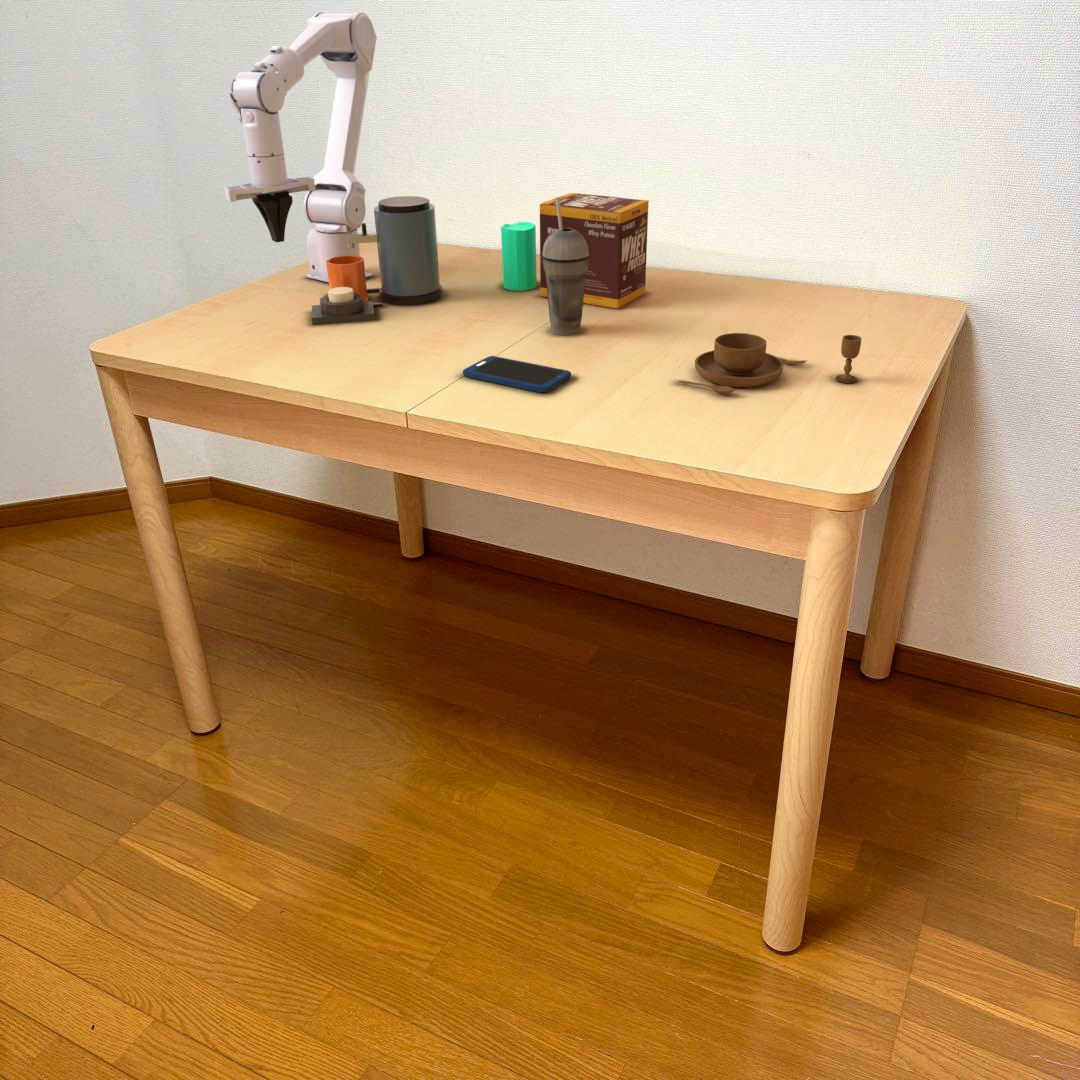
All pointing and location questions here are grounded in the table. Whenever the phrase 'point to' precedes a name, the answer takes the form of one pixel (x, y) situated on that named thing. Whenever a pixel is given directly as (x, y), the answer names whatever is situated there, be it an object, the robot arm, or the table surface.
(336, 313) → the button block
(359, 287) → the cup
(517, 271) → the candle
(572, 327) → the beverage cup
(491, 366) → the cell phone
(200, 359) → the table surface
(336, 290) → the button
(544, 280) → the supplement box
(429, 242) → the dispenser
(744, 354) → the place setting
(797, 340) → the table surface
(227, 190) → the robot arm
